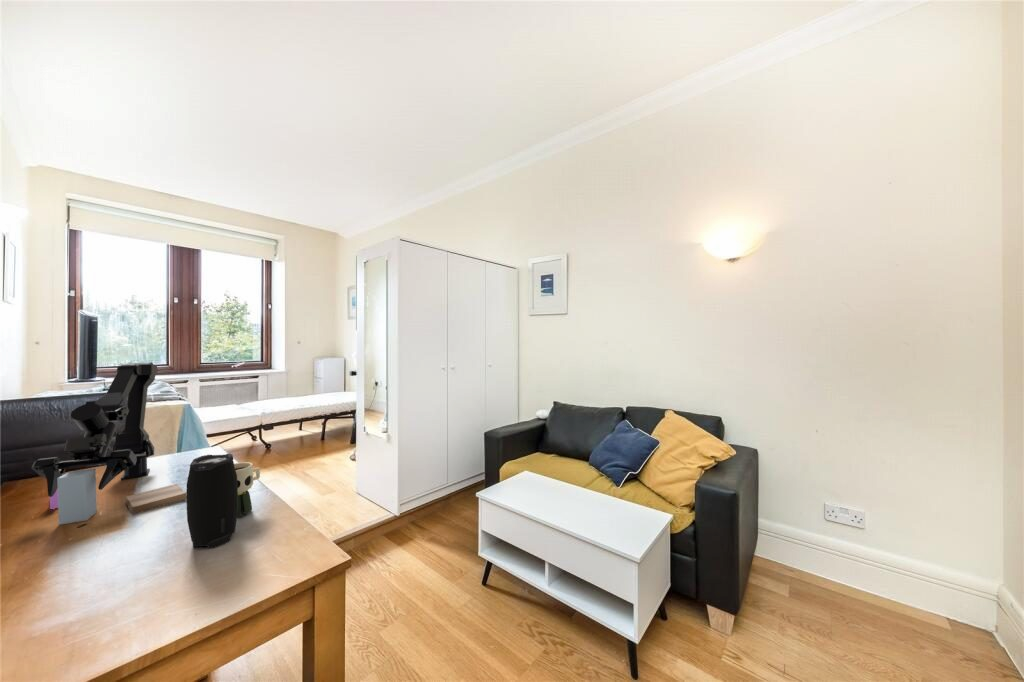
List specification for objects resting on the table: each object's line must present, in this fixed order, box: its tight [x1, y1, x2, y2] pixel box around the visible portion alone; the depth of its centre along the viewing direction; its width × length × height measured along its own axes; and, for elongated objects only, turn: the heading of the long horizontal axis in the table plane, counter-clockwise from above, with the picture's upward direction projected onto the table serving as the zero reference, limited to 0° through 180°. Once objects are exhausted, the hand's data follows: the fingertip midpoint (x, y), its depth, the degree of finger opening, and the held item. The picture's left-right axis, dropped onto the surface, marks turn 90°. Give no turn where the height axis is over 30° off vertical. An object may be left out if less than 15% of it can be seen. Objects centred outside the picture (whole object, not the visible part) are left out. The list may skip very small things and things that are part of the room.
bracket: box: [49, 488, 58, 510], centre depth 109 cm, size 13×6×7 cm, turn 50°
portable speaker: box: [185, 453, 238, 549], centre depth 87 cm, size 9×9×20 cm
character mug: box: [234, 461, 261, 518], centre depth 100 cm, size 11×7×13 cm, turn 146°
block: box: [57, 468, 98, 526], centre depth 98 cm, size 5×5×12 cm
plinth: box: [125, 483, 186, 515], centre depth 108 cm, size 11×11×2 cm
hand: (75, 492), depth 98 cm, fingers open, 9 cm apart
